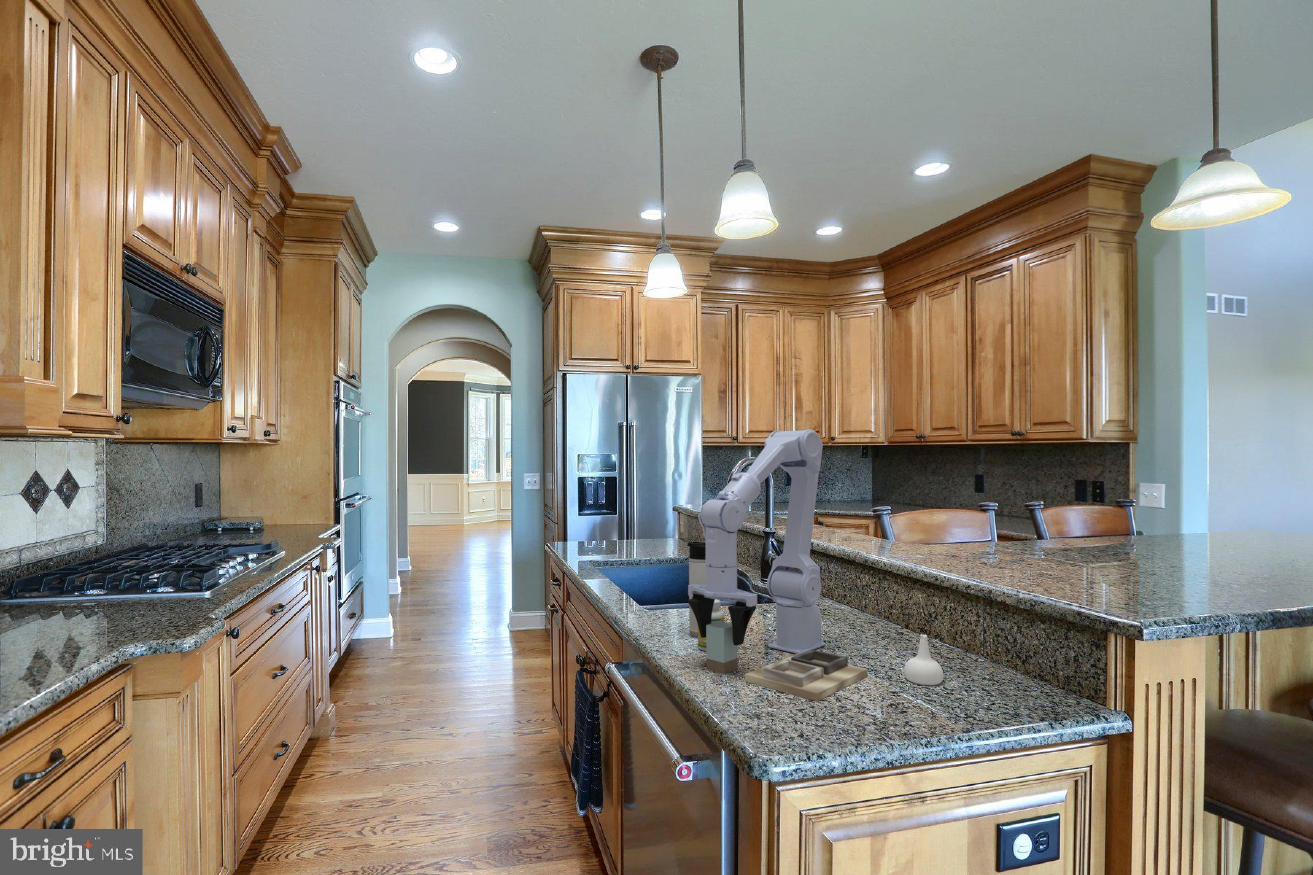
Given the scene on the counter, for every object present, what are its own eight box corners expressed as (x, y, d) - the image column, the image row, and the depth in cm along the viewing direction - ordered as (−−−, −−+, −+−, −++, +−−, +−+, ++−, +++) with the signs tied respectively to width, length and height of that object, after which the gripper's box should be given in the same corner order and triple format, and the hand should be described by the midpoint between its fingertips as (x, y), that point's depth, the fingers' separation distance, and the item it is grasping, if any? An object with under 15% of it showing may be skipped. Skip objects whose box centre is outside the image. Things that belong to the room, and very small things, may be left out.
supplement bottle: (713, 643, 138) (712, 596, 138) (729, 649, 133) (729, 601, 134) (692, 647, 135) (692, 599, 135) (708, 653, 130) (708, 604, 131)
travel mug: (686, 631, 148) (685, 541, 148) (715, 630, 148) (714, 540, 149) (689, 638, 141) (689, 544, 142) (720, 637, 142) (719, 544, 143)
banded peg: (720, 664, 124) (720, 621, 124) (737, 669, 121) (737, 624, 121) (706, 669, 121) (706, 624, 121) (723, 674, 118) (723, 628, 118)
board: (798, 659, 126) (798, 645, 126) (867, 675, 117) (867, 660, 117) (745, 681, 114) (744, 665, 114) (817, 701, 104) (817, 683, 104)
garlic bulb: (904, 687, 112) (903, 640, 112) (903, 672, 118) (903, 628, 118) (944, 691, 110) (943, 644, 110) (942, 676, 116) (941, 631, 116)
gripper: (677, 563, 124) (677, 637, 123) (739, 572, 113) (740, 652, 113) (701, 559, 129) (702, 630, 128) (763, 567, 119) (764, 644, 118)
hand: (721, 640), depth 121 cm, fingers open, 7 cm apart
